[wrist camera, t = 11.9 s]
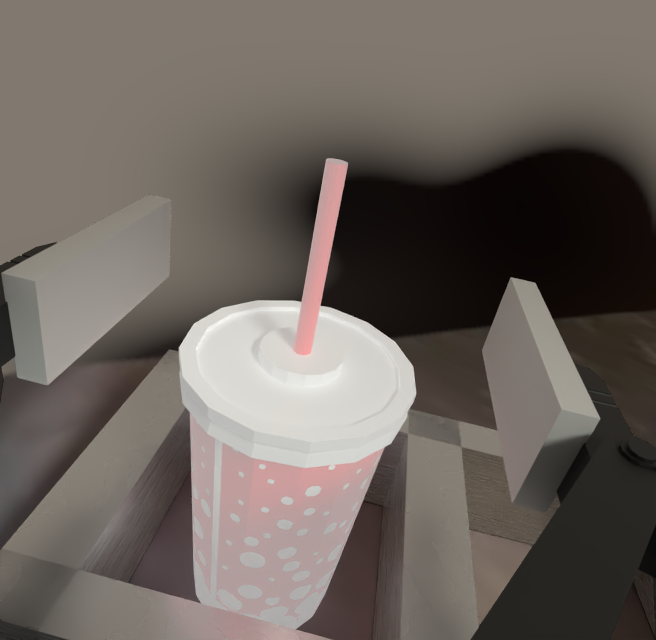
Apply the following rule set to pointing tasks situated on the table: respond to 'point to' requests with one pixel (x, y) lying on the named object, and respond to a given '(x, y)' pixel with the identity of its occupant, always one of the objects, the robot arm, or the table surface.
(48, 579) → the grey hollow block
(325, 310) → the beverage cup
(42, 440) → the table surface
